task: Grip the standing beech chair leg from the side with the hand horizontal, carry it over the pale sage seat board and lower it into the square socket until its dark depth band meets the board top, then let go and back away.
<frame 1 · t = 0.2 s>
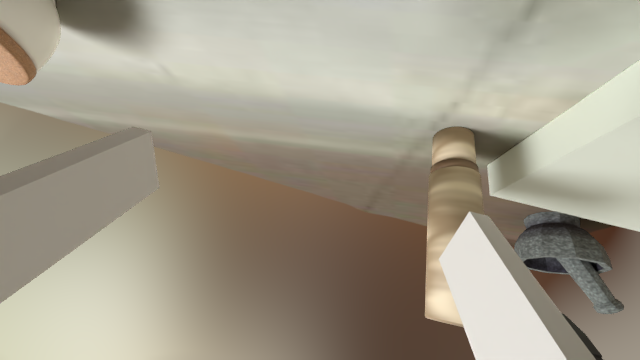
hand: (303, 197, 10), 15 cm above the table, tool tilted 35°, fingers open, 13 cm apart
beech leg: (452, 138, 27), on the table
mortar and pestle: (554, 219, 38), on the table
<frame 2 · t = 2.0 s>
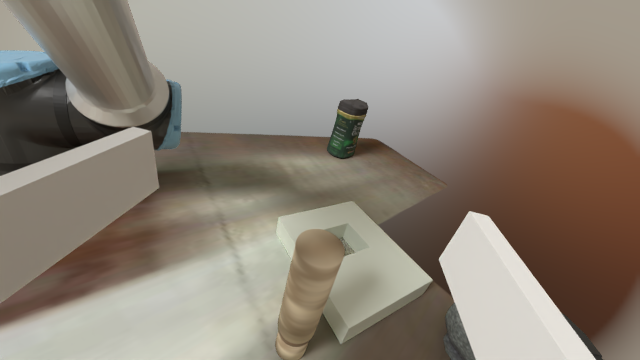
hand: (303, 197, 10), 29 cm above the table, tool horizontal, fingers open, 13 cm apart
beech leg: (291, 344, 32), on the table
coffee jar: (340, 153, 86), on the table
seat board: (345, 262, 46), on the table
mortar and pestle: (466, 349, 37), on the table
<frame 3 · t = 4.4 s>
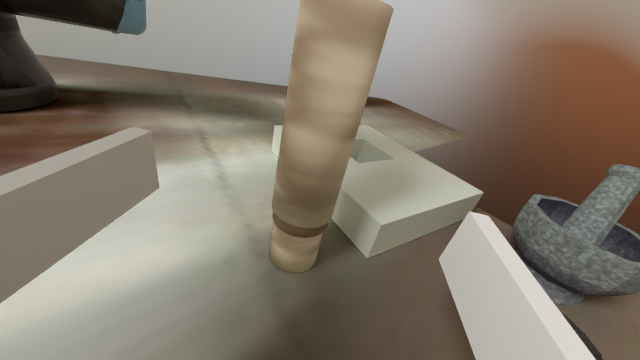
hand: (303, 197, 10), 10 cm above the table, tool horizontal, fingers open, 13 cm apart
beech leg: (292, 253, 21), on the table
seat board: (362, 181, 35), on the table
mortar and pestle: (541, 275, 26), on the table
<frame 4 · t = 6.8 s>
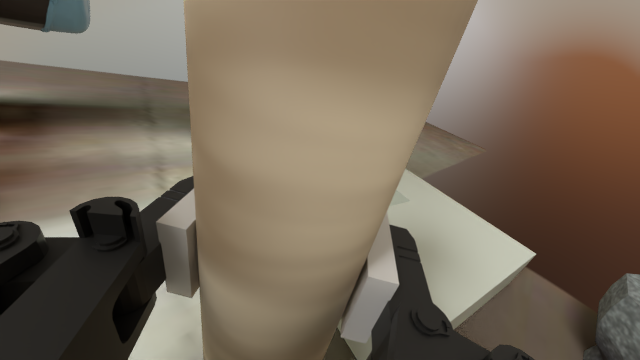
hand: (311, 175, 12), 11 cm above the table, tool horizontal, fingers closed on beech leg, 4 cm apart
seat board: (367, 229, 26), on the table
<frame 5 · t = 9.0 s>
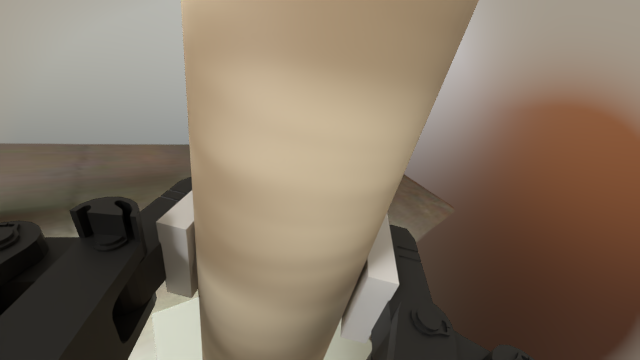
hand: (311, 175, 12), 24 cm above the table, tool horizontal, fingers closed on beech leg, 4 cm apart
when the fingers open (11 cm above the table, at t = 11.5 s): beech leg stays where it is, resting in seat board.
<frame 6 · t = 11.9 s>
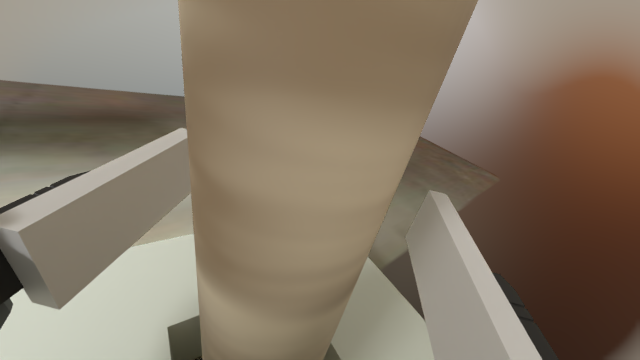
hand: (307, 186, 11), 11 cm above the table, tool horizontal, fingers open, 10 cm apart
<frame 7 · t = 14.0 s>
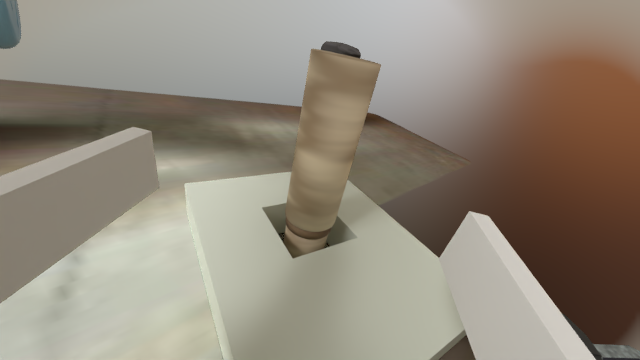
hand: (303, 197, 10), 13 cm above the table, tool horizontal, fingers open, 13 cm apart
beech leg: (301, 253, 25), resting in seat board
coffee jar: (325, 123, 65), on the table
seat board: (311, 267, 24), on the table
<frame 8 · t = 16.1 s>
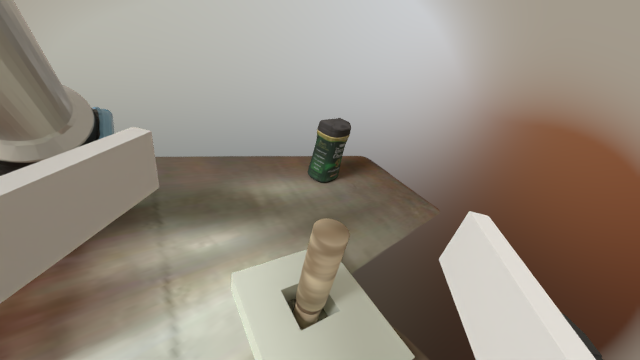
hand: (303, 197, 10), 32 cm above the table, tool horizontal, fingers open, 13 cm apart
beech leg: (305, 316, 39), resting in seat board
coffee jar: (322, 176, 79), on the table
seat board: (311, 327, 38), on the table
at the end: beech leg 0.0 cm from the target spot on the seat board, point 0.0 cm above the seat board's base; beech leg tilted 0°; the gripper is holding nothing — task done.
